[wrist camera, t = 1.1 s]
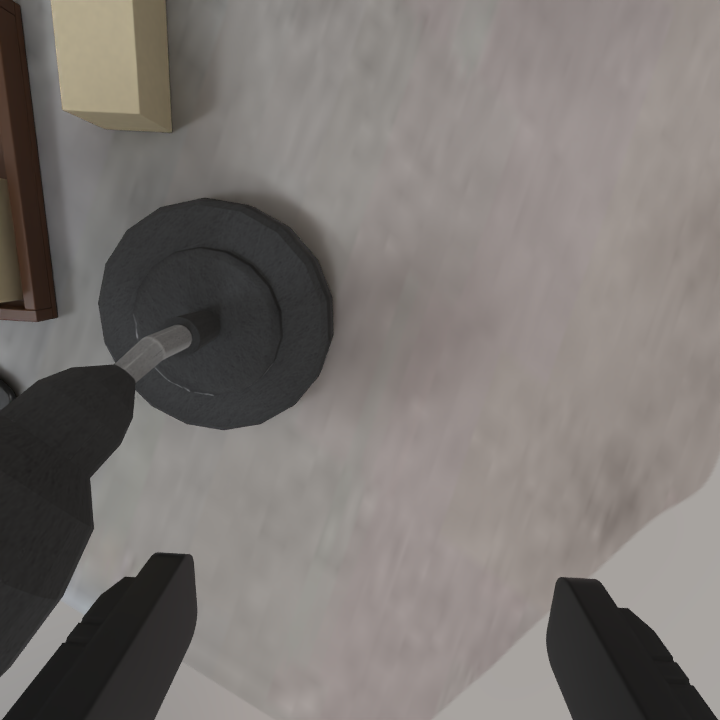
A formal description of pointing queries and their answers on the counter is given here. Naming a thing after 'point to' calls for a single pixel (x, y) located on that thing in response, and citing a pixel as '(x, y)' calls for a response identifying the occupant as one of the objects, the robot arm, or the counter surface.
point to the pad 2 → (114, 62)
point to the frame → (23, 176)
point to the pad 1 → (8, 251)
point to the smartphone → (5, 395)
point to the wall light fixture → (155, 378)
